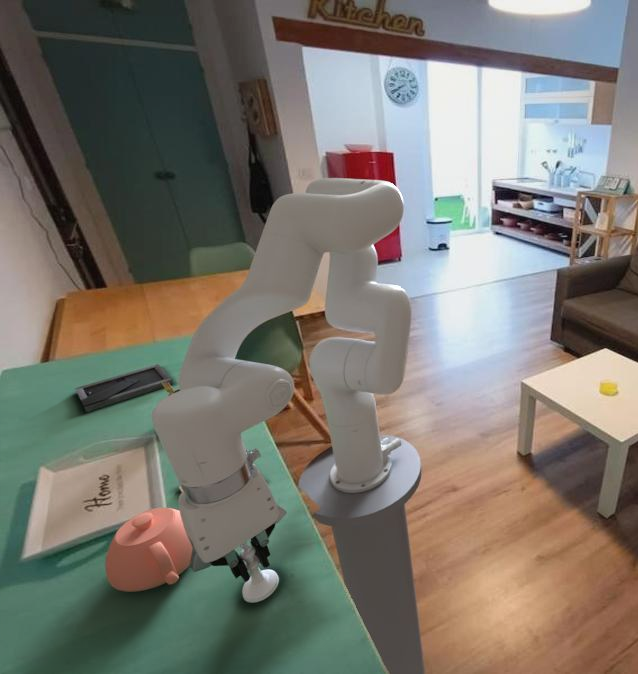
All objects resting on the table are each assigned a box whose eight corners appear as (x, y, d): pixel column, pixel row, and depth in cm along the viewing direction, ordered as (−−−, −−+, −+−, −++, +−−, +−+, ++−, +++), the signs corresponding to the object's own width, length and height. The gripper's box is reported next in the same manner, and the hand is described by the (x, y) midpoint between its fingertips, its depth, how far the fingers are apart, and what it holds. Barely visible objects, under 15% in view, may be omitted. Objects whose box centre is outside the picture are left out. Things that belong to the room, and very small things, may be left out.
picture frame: (86, 412, 104) (173, 384, 117) (83, 405, 103) (171, 377, 116) (77, 393, 112) (160, 368, 124) (74, 386, 111) (157, 362, 123)
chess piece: (257, 608, 62) (238, 564, 57) (235, 594, 63) (215, 550, 59) (286, 579, 66) (270, 536, 61) (264, 566, 67) (248, 523, 63)
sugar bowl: (195, 520, 76) (177, 477, 71) (224, 566, 68) (206, 521, 63) (106, 567, 67) (79, 522, 63) (127, 626, 59) (99, 579, 55)
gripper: (267, 434, 62) (293, 520, 70) (132, 499, 51) (182, 594, 59) (292, 456, 58) (317, 545, 66) (151, 532, 47) (202, 629, 55)
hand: (253, 567), depth 62 cm, fingers closed on chess piece
